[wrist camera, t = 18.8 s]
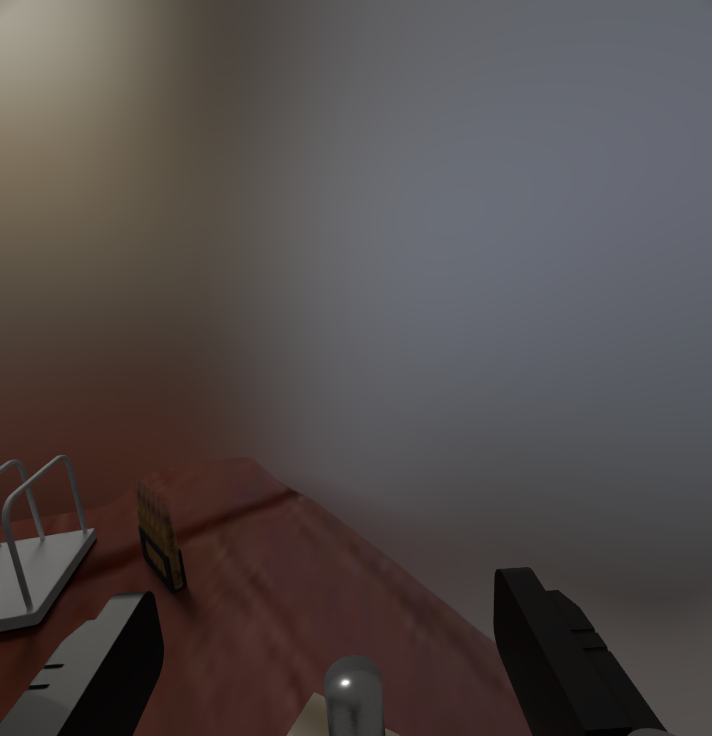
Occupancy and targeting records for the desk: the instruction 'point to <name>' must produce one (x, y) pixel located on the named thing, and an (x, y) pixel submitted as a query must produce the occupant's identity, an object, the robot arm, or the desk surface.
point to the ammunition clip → (159, 538)
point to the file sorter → (37, 558)
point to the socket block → (316, 719)
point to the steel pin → (354, 698)
